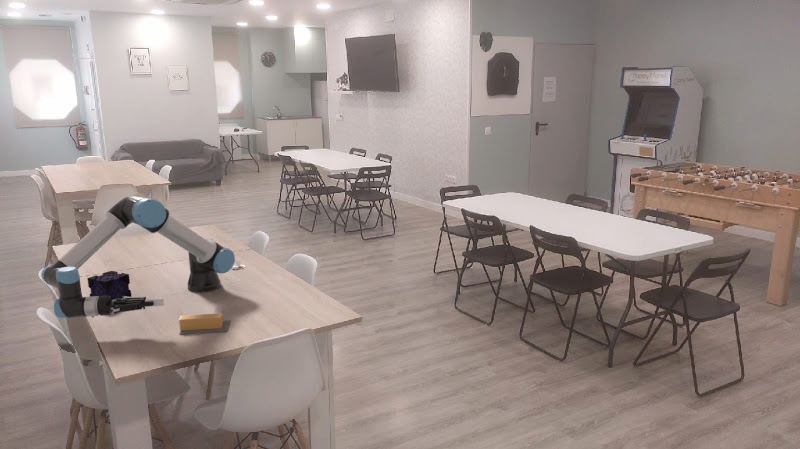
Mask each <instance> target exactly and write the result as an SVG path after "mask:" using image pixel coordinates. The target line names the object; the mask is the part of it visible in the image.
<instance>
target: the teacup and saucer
mask: <svg viewBox="0 0 800 449" xmlns="http://www.w3.org/2000/svg"><path fill="white" fill-rule="evenodd" d="M241 266H243V267H241ZM244 268H246V265H244V264H241V260H240V259H235V262H234V265H233V267H232V268H231V270H242V269H244Z"/></svg>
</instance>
